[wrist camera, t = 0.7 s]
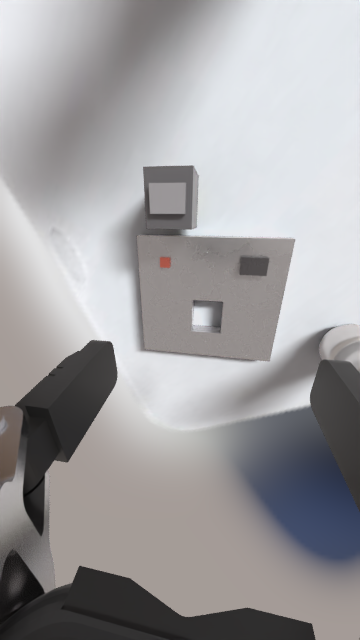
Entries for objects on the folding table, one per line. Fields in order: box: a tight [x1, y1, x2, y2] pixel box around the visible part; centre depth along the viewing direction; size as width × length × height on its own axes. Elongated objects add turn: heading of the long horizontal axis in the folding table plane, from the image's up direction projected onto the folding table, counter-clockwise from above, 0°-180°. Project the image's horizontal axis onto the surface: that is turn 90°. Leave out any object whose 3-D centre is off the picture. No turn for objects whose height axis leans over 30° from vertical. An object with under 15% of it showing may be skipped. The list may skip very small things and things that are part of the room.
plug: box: [143, 166, 199, 229], centre depth 23 cm, size 5×4×8 cm
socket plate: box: [137, 235, 295, 361], centre depth 29 cm, size 16×18×3 cm
